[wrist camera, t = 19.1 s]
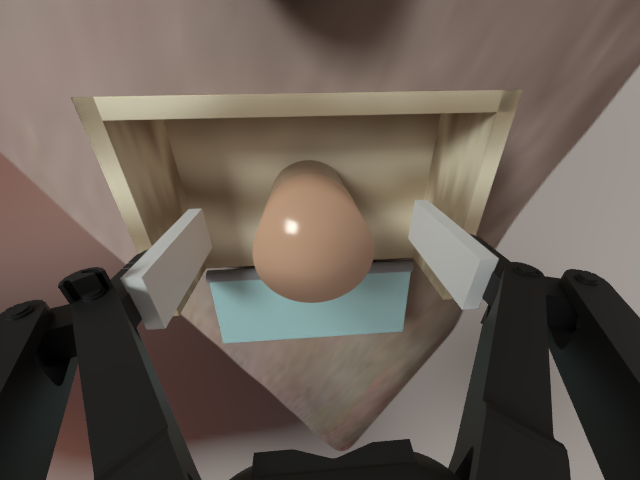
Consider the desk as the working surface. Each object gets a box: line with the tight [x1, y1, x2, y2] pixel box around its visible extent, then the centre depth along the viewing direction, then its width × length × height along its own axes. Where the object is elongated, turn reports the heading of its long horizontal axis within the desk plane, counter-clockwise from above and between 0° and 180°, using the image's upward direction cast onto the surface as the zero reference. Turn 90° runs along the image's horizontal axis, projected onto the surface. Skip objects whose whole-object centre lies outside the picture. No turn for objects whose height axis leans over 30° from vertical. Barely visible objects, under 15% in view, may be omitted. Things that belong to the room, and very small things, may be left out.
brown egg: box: [252, 160, 374, 303], centre depth 17 cm, size 6×6×9 cm
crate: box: [71, 90, 522, 316], centre depth 20 cm, size 14×22×9 cm, turn 91°
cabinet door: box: [206, 260, 414, 343], centre depth 26 cm, size 1×20×9 cm
